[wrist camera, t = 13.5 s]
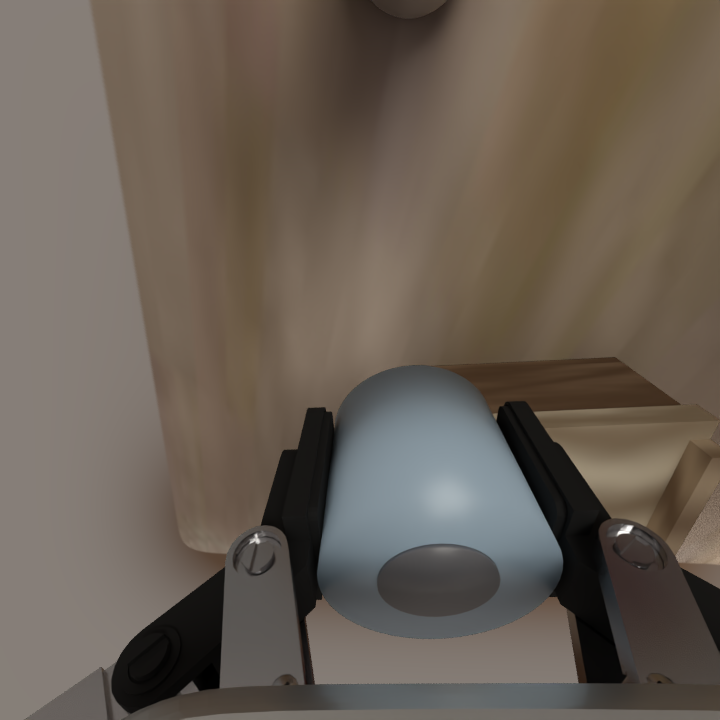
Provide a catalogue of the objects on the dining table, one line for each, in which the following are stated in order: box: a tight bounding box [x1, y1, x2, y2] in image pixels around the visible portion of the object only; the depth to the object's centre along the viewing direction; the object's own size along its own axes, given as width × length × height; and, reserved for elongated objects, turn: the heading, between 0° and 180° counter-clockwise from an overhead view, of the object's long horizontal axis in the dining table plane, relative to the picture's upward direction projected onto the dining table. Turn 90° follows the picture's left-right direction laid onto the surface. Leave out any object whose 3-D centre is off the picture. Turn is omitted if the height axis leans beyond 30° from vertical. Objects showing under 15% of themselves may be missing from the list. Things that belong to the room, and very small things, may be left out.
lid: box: [493, 404, 720, 555], centre depth 24 cm, size 13×17×3 cm
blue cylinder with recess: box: [317, 365, 563, 639], centre depth 10 cm, size 5×5×5 cm
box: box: [432, 357, 681, 414], centre depth 28 cm, size 12×16×7 cm
